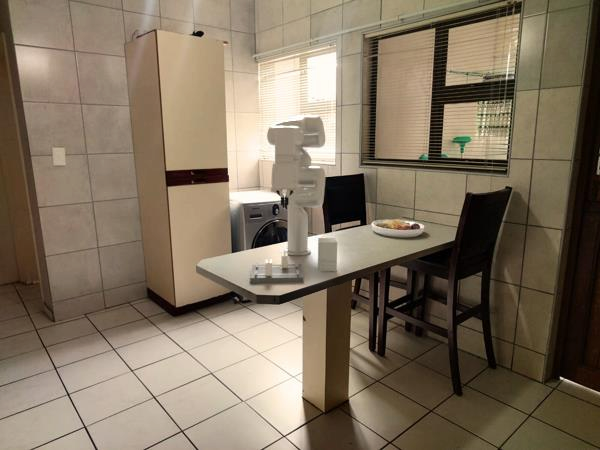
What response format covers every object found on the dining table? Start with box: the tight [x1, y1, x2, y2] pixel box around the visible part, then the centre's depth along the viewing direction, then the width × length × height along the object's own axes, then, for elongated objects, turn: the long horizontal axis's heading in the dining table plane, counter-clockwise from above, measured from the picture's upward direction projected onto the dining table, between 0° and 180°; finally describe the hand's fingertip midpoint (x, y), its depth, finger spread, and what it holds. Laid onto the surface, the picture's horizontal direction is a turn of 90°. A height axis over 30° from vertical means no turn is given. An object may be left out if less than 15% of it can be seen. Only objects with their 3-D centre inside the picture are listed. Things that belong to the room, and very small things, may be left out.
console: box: [249, 262, 304, 284], centre depth 159 cm, size 16×20×3 cm
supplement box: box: [317, 237, 338, 272], centre depth 167 cm, size 7×7×13 cm
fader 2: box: [281, 251, 289, 268], centre depth 163 cm, size 5×2×5 cm, turn 4°
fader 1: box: [265, 258, 273, 276], centre depth 153 cm, size 5×2×5 cm, turn 4°
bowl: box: [371, 218, 425, 238], centre depth 235 cm, size 30×30×8 cm
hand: (284, 207), depth 156 cm, fingers closed
